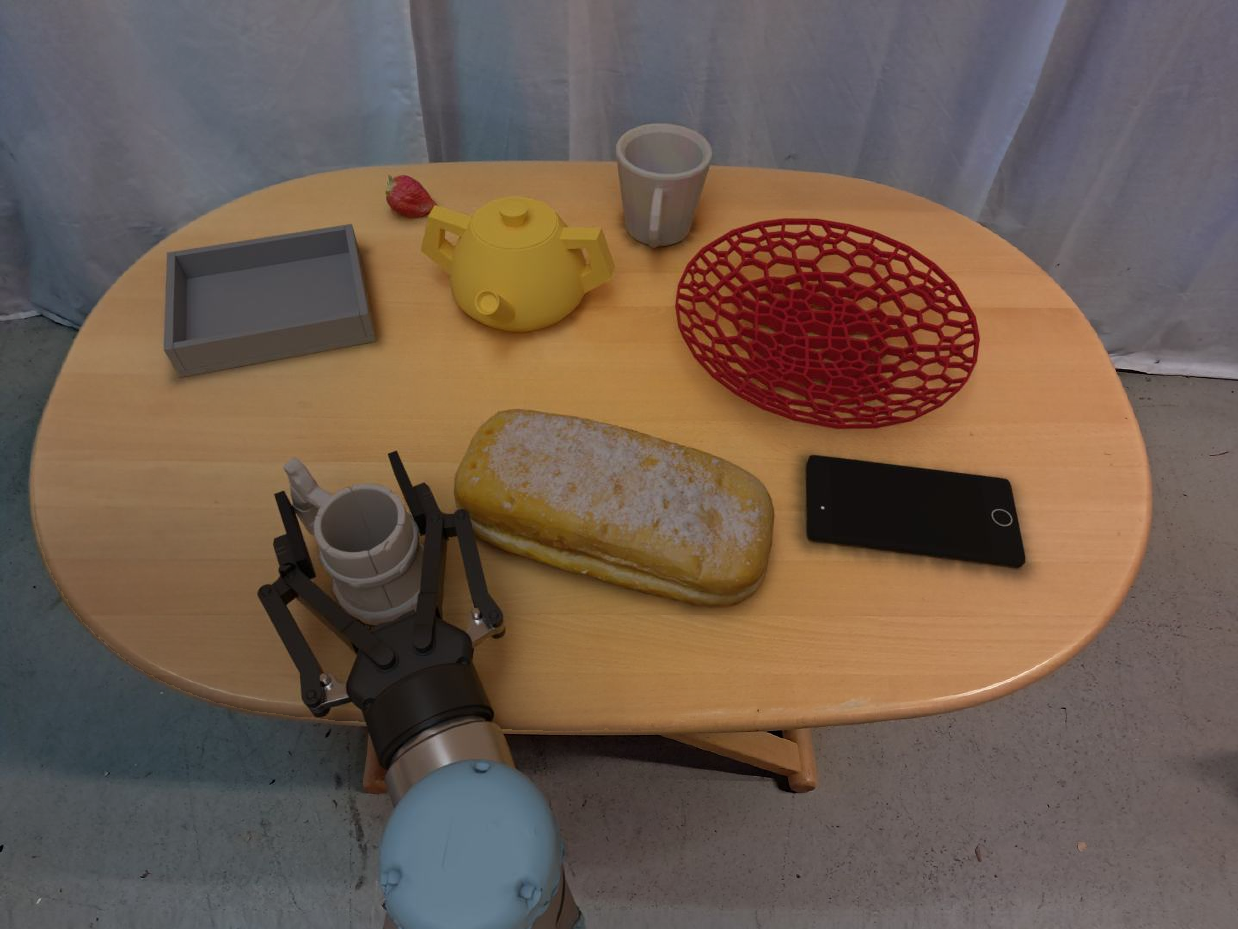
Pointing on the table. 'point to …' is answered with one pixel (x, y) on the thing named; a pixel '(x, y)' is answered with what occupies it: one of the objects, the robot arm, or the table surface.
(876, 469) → the cell phone
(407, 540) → the mug
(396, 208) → the fruit
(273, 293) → the tray
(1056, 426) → the table surface
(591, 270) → the teapot
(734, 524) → the bread
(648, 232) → the mug
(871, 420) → the bowl
